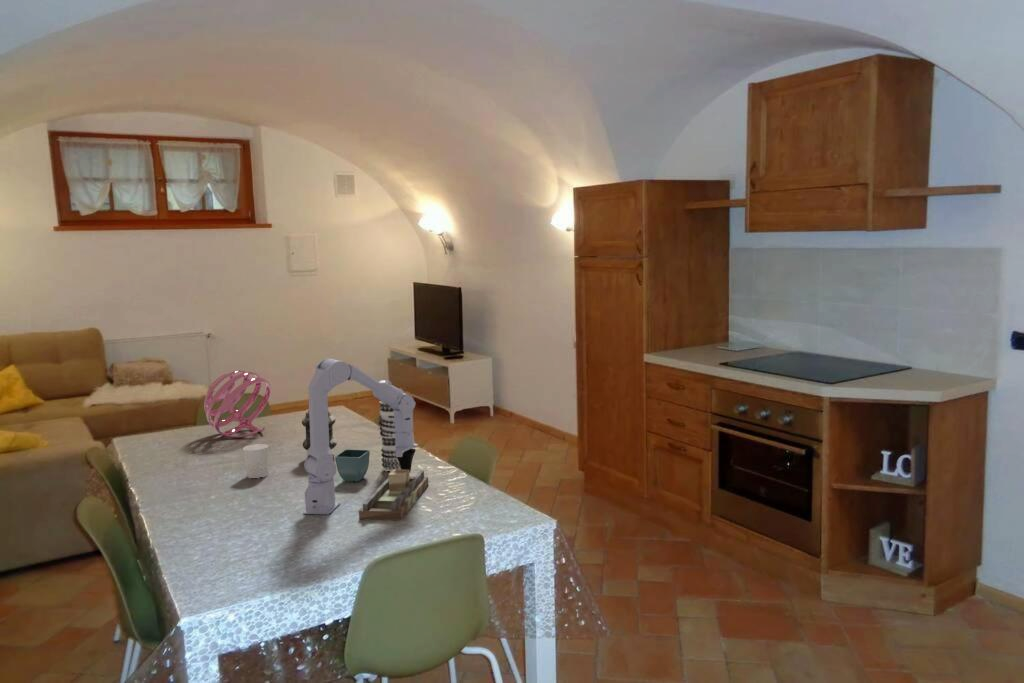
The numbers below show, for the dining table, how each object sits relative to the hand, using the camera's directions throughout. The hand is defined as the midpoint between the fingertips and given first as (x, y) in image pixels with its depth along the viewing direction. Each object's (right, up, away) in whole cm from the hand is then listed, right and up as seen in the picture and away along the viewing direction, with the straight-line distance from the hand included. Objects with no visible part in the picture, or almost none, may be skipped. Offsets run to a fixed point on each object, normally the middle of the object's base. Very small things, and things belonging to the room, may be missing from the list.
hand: (406, 473), depth 243 cm
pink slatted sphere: (-80, +3, +78) cm, 111 cm away
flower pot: (-19, -4, +11) cm, 22 cm away
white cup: (-53, -4, +19) cm, 56 cm away
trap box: (-1, -6, -11) cm, 13 cm away
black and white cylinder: (-7, -2, +22) cm, 23 cm away
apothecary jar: (-36, -1, +37) cm, 52 cm away
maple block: (-1, -3, -7) cm, 8 cm away
